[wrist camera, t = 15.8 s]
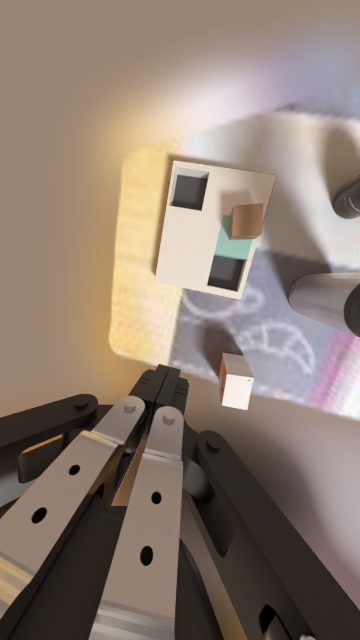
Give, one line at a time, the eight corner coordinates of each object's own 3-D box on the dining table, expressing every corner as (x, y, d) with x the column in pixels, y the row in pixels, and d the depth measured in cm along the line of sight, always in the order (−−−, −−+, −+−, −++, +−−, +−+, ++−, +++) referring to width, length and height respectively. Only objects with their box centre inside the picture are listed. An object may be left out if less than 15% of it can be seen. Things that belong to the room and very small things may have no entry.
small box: (222, 351, 46) (226, 372, 36) (244, 355, 46) (255, 377, 35) (217, 379, 48) (220, 406, 38) (239, 382, 48) (247, 411, 37)
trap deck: (271, 183, 36) (276, 174, 34) (238, 298, 43) (240, 299, 40) (176, 169, 38) (173, 160, 35) (158, 281, 44) (154, 281, 42)
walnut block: (256, 211, 35) (263, 203, 31) (254, 239, 37) (261, 234, 32) (230, 213, 36) (233, 205, 32) (229, 240, 37) (232, 236, 33)
